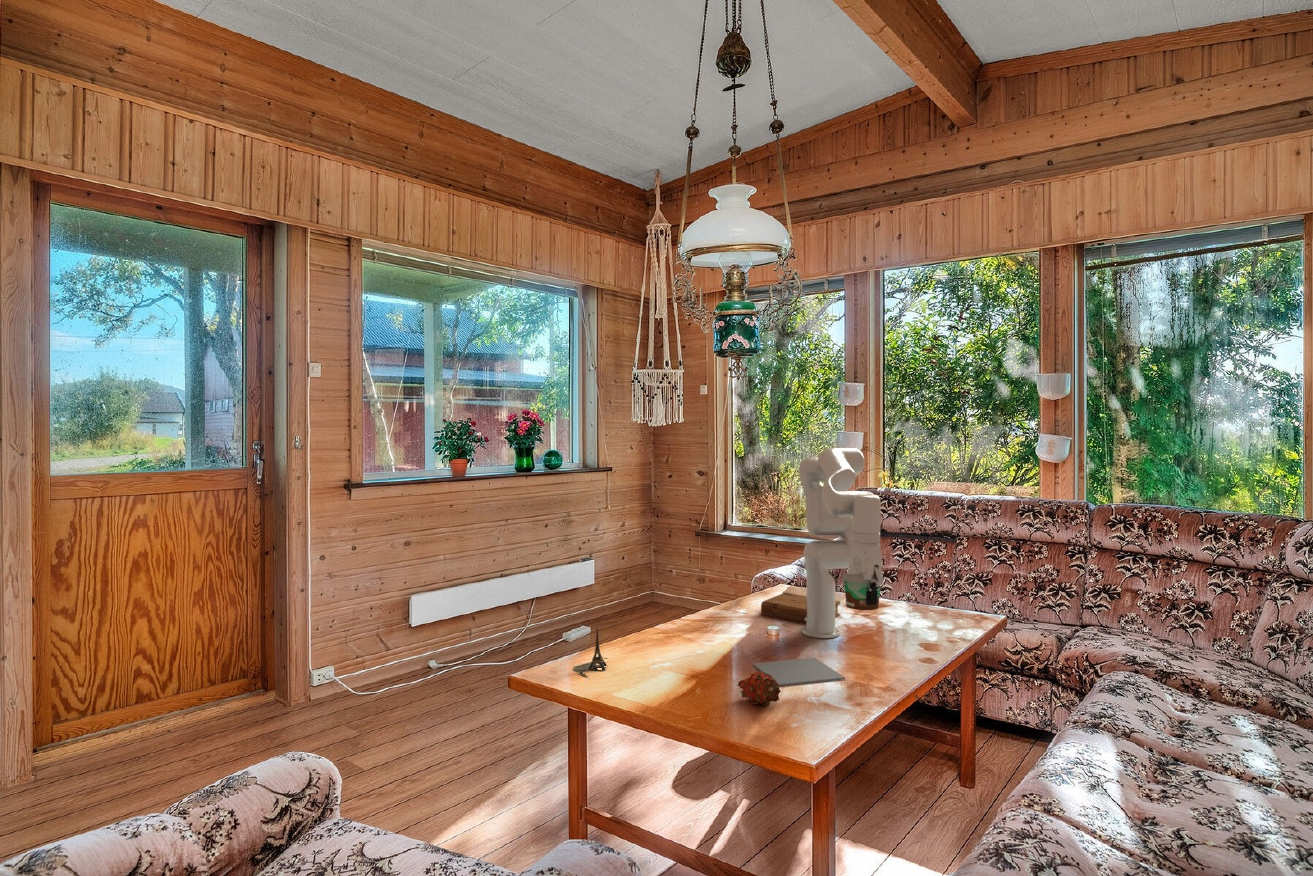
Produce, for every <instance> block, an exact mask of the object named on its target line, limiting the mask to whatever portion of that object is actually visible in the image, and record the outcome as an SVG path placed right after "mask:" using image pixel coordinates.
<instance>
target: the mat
mask: <svg viewBox="0 0 1313 876" xmlns="http://www.w3.org/2000/svg"><path fill="white" fill-rule="evenodd" d="M752 666H753V667H754V668H756V669H757V671H758V672H762V673H763V674H764V673H768V674H769V675H771V676H772V677H773V679H775V680H776V681H777V683H778V684H779V688H780V687H788V686H796V685H806V684H807V685H809V684H815V683H814V682H818V683H825V682H826V683H827V682H834V681H833V680H836V681H841V680H840V679H845V680H846V677H845V676H843V675H842V674H841V673H839V672H838V671H836V670H835V669H833V668H832V667H830V666H829V665H827V664H825V663H824V662H822V661H820V660H819V659H818V658H816V657H806V658H805V657H804V658H795V659H784V660H775V661H773V660H771V661H765V662H753V664H752Z"/></svg>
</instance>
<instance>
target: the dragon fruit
mask: <svg viewBox="0 0 1313 876" xmlns="http://www.w3.org/2000/svg"><path fill="white" fill-rule="evenodd" d="M737 687H739V689H741V691H740V695H741V697H742V698H748V699H750V700H751V704H752V705H758V704H759V703H760V704H761V705H762V706H768V705H770V702H772V703H775V702H778V701H779V700H780V697H779V695H780V693H782V690H780V687H779V684H778V683H777V681H776V680H775V679H773V677H772V676H771V675H769V674H768V673H764V674H763V673H762V672H761V671H754V672H753V673H750V676H749V677H745V678H744V679H741V680H739V682H738V683H737Z"/></svg>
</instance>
